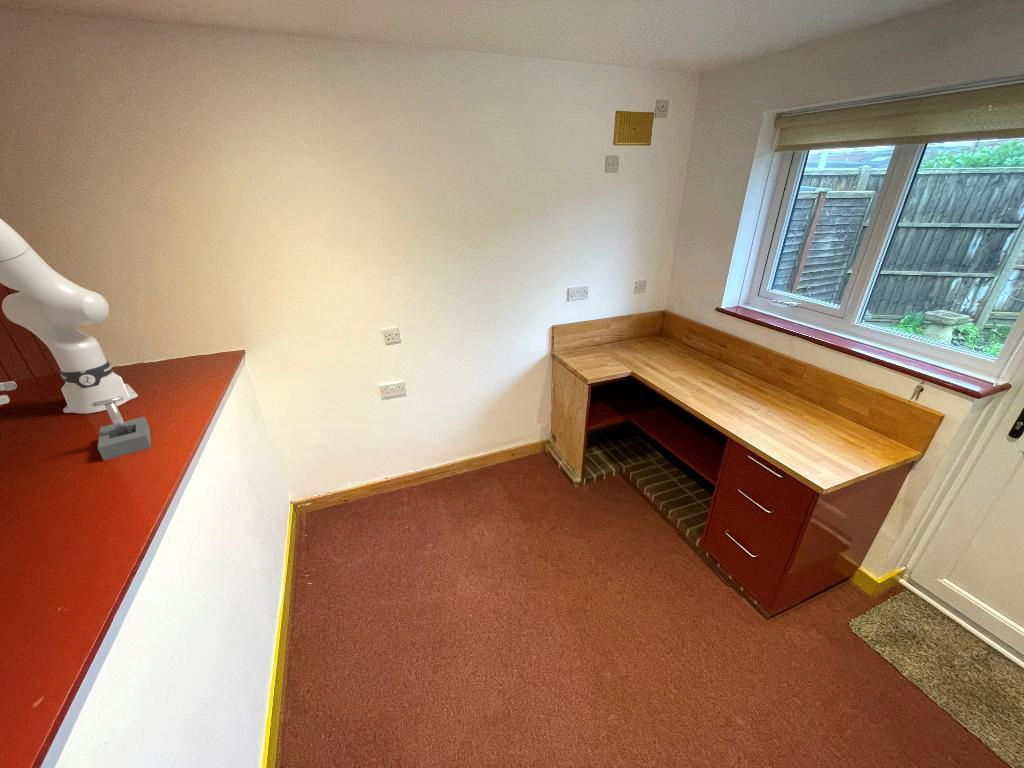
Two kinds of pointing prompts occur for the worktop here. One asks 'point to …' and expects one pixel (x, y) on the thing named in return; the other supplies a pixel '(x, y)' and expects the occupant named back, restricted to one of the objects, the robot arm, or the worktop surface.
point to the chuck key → (114, 414)
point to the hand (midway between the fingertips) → (12, 391)
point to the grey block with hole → (124, 439)
